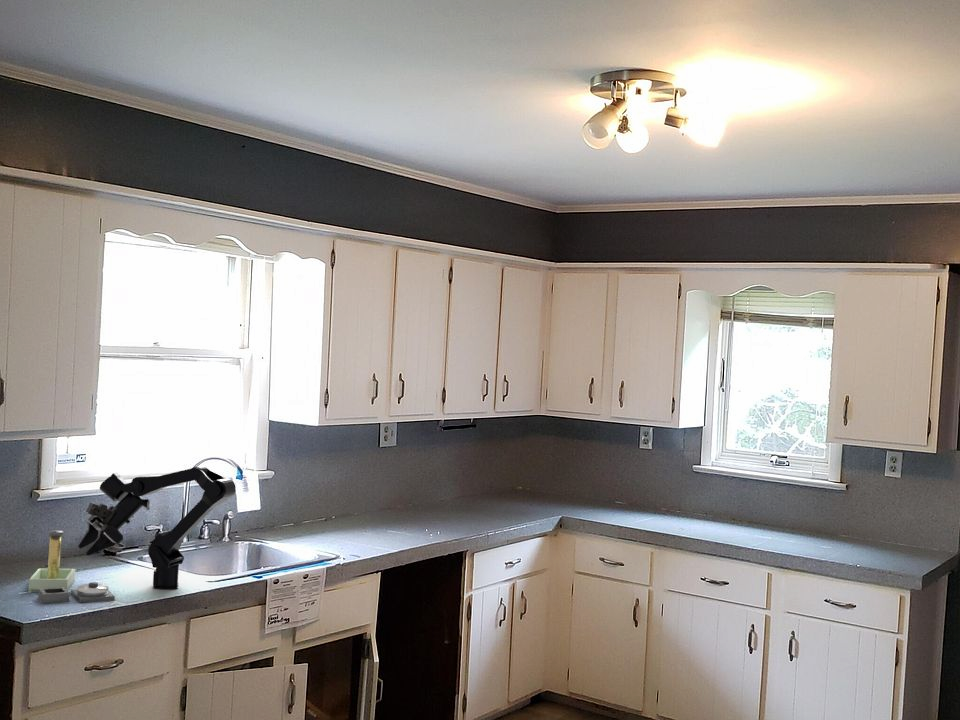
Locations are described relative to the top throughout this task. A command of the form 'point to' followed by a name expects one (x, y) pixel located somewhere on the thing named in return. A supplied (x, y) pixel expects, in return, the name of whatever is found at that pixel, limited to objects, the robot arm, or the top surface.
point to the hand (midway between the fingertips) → (82, 550)
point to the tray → (51, 580)
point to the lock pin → (54, 553)
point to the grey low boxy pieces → (77, 594)
